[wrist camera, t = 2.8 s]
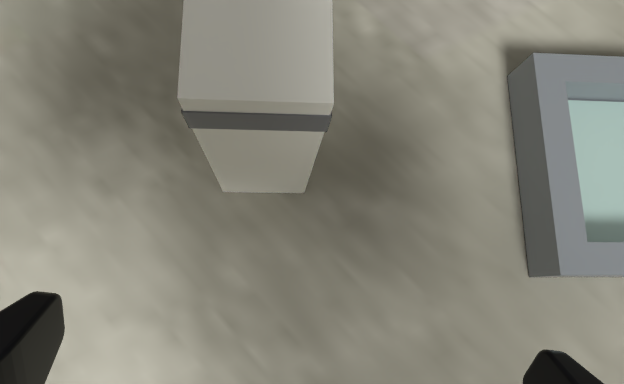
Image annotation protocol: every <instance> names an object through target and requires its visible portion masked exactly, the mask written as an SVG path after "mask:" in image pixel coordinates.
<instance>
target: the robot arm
mask: <svg viewBox="0 0 624 384" xmlns="http://www.w3.org/2000/svg"><path fill="white" fill-rule="evenodd" d="M64 330H65V326H64V316H63V307H62V299H61V297H60V295H59V294H56V293H48V292H39V291H36V292H32V293H30V294H28V295H26V296H25V297H23V298H21V299H20V300H18V301H16V302H15V303H13V304H11V305H10V306H8V307H6V308H5V309H3V310H2V311H0V384H45V381H46V379H47V377H48V374H49V372H50V369H51V367H52V364H53V362H54V360H55V357H56V355H57V352H58V350H59V347H60V345H61V343H62V340H63V336H64ZM523 384H604V383H602V382H601V381H600V380H599V379H597V378H596V377H595V376H594V375H592V374H591V373H590V372H589V371H587V370H586V369H585V368H584V367H582V366H581V365H580V364H579V363H577V362H576V361H575V360H574V359H572V358H571V357H570V356H569V355H567V354H566V353H564V352H561V351H554V350H542V351H540V352H539V353H538V354H537V356H536V357H535V359H534V361H533V362H532V364H531V365H530V367H529V368H528V370H527V372H526V373H525V375H524V378H523Z"/></svg>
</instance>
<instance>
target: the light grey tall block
mask: <svg viewBox="0 0 624 384" xmlns="http://www.w3.org/2000/svg"><path fill="white" fill-rule="evenodd" d="M177 99H178V101H179V103H180V105H181V107H182V110H181V113H182V115H183V117H184V119H185V121H186V123H187V125H188V127H189V128H192V129H193V131H194V134H195V136H196V138H197V140H198V142H199V144H200V146H201V148H202V150H203V152H204V154H205V156H206V158H207V160H208V162H209V164H210V166H211V168H212V170H213V172H214V174H215V176H216V178H217V180H218V182H219V184H220V186H221V188H222V190H223V192H252V193H304V192H305V189H306V186H307V183H308V180H309V177H310V174H311V171H312V168H313V165H314V162H315V159H316V156H317V153H318V150H319V147H320V144H321V141H322V138H323V135H324V132H327V130H328V127H329V124H330V121H331V118H332V108H333V105H334V74H333V14H332V0H184V2H183V18H182V33H181V48H180V64H179V79H178V94H177Z"/></svg>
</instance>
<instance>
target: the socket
mask: <svg viewBox="0 0 624 384" xmlns="http://www.w3.org/2000/svg"><path fill="white" fill-rule="evenodd" d="M507 77H508V86H509V95H510V104H511V114H512V123H513V132H514V141H515V150H516V160H517V169H518V178H519V187H520V196H521V205H522V215H523V224H524V233H525V242H526V251H527V261H528V270H529V277H624V57H618V56H595V55H573V54H550V53H532V54H531V55H530V56H529V57H528V58H527V59H526V60H525V61H524V62H522V63H521V64H520V65H519V66H518V67H517V68H516V69H515V70H514V71H513V72H511V73H510V74H509V75H508V76H507Z"/></svg>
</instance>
